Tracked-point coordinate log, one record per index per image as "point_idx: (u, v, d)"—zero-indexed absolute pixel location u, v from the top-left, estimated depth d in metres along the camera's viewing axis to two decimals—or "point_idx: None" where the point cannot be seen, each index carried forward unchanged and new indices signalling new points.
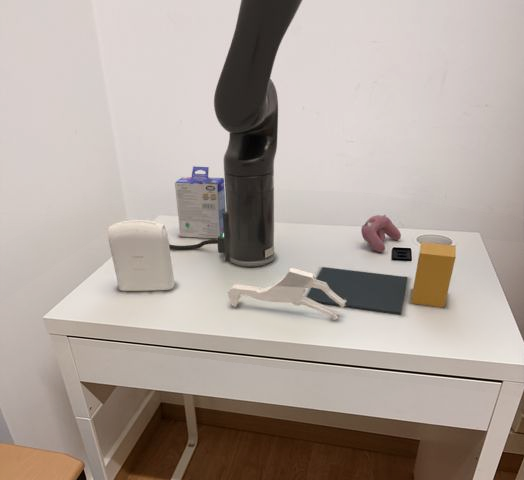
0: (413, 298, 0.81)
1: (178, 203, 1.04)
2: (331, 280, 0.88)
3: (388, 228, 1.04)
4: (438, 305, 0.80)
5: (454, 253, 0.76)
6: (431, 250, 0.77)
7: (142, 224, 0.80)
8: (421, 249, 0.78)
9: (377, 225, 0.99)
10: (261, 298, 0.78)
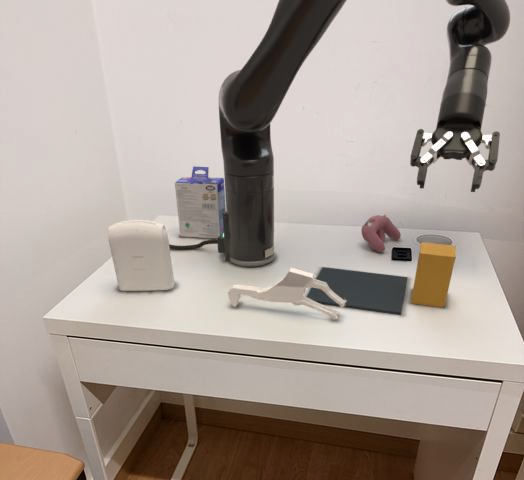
0: (413, 298, 0.81)
1: (178, 203, 1.04)
2: (331, 280, 0.88)
3: (388, 228, 1.04)
4: (438, 305, 0.80)
5: (454, 253, 0.76)
6: (431, 250, 0.77)
7: (142, 224, 0.80)
8: (421, 249, 0.78)
9: (377, 225, 0.99)
10: (261, 298, 0.78)
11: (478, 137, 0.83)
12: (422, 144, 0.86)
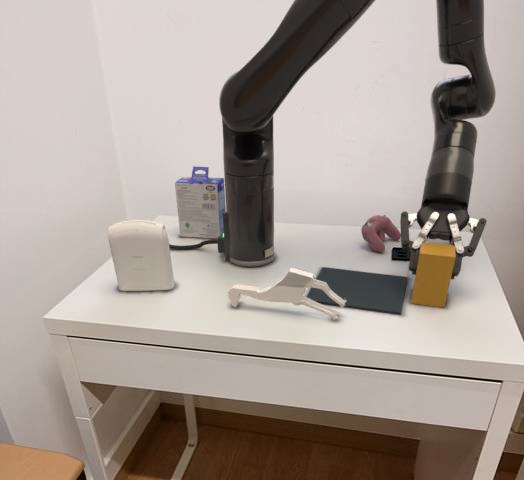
0: (413, 298, 0.81)
1: (178, 203, 1.04)
2: (331, 280, 0.88)
3: (388, 228, 1.04)
4: (438, 305, 0.80)
5: (454, 253, 0.76)
6: (431, 250, 0.77)
7: (142, 224, 0.80)
8: (421, 249, 0.78)
9: (377, 225, 0.99)
10: (261, 298, 0.78)
11: (464, 219, 0.79)
12: (409, 226, 0.82)
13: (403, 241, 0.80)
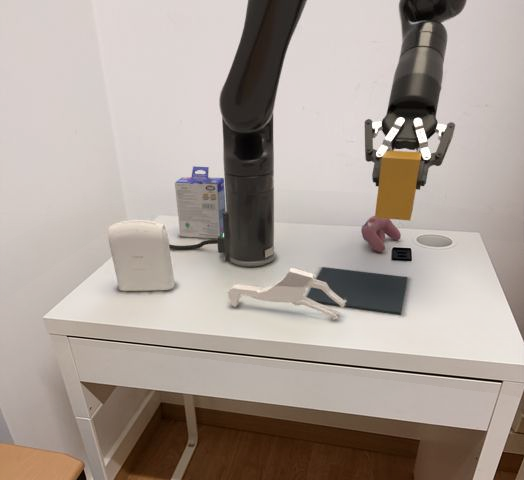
0: (377, 211, 0.75)
1: (178, 203, 1.04)
2: (331, 280, 0.88)
3: (388, 228, 1.04)
4: (403, 218, 0.74)
5: (419, 157, 0.70)
6: (395, 155, 0.71)
7: (142, 224, 0.80)
8: (384, 154, 0.72)
9: (377, 225, 0.99)
10: (261, 298, 0.78)
11: (431, 124, 0.73)
12: (373, 135, 0.76)
13: (366, 150, 0.75)
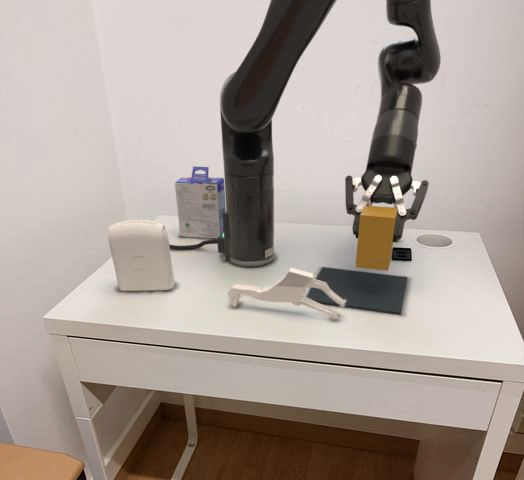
0: (357, 262, 0.80)
1: (178, 203, 1.04)
2: (331, 280, 0.88)
3: None
4: (382, 268, 0.80)
5: (394, 214, 0.76)
6: (372, 212, 0.77)
7: (142, 224, 0.80)
8: (363, 211, 0.77)
9: None
10: (261, 298, 0.78)
11: (407, 182, 0.79)
12: (354, 190, 0.82)
13: (347, 205, 0.80)
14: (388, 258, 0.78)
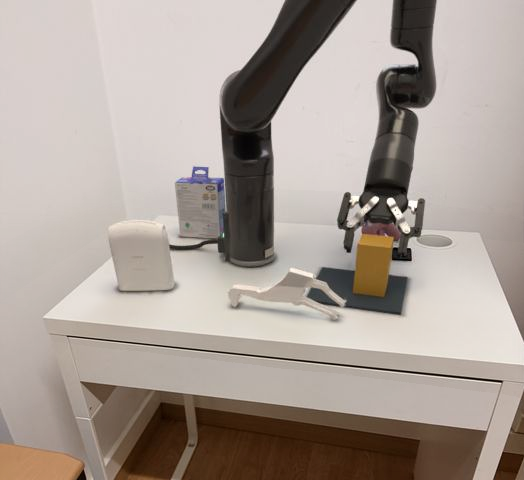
0: (354, 288, 0.83)
1: (178, 203, 1.04)
2: (331, 280, 0.88)
3: (388, 228, 1.04)
4: (378, 295, 0.82)
5: (391, 244, 0.78)
6: (369, 241, 0.79)
7: (142, 224, 0.80)
8: (360, 240, 0.80)
9: (377, 225, 0.99)
10: (261, 298, 0.78)
11: (404, 203, 0.81)
12: (349, 207, 0.84)
13: (338, 220, 0.83)
14: (384, 285, 0.81)
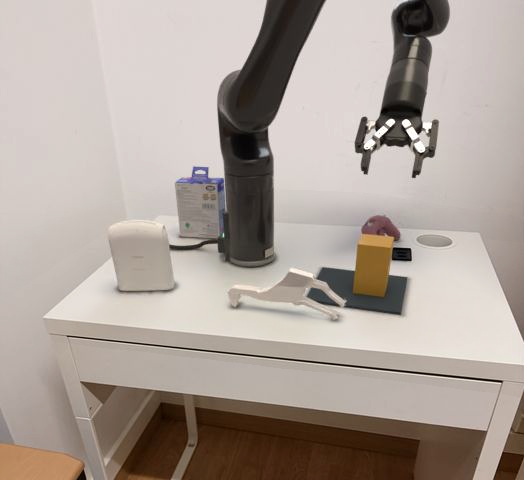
0: (354, 288, 0.83)
1: (178, 203, 1.04)
2: (331, 280, 0.88)
3: (388, 228, 1.04)
4: (378, 295, 0.82)
5: (391, 244, 0.78)
6: (369, 241, 0.79)
7: (142, 224, 0.80)
8: (360, 240, 0.80)
9: (377, 225, 0.99)
10: (261, 298, 0.78)
11: (418, 125, 0.85)
12: (366, 131, 0.88)
13: (355, 142, 0.87)
14: (384, 285, 0.81)
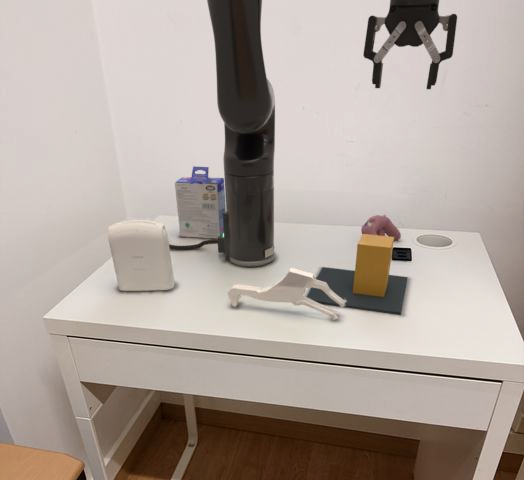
0: (354, 288, 0.83)
1: (178, 203, 1.04)
2: (331, 280, 0.88)
3: (388, 228, 1.04)
4: (378, 295, 0.82)
5: (391, 244, 0.78)
6: (369, 241, 0.79)
7: (142, 224, 0.80)
8: (360, 240, 0.80)
9: (377, 225, 0.99)
10: (261, 298, 0.78)
11: (434, 23, 0.76)
12: (375, 32, 0.79)
13: (364, 55, 0.81)
14: (384, 285, 0.81)
